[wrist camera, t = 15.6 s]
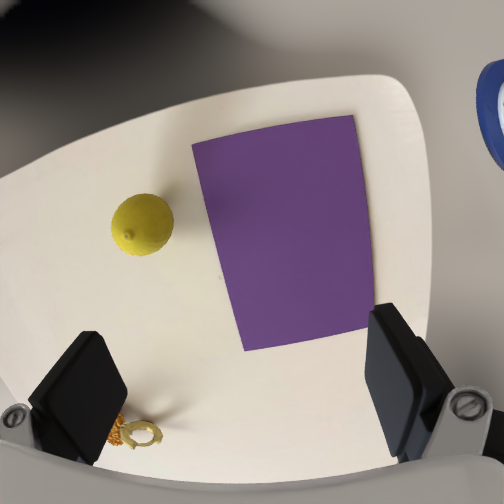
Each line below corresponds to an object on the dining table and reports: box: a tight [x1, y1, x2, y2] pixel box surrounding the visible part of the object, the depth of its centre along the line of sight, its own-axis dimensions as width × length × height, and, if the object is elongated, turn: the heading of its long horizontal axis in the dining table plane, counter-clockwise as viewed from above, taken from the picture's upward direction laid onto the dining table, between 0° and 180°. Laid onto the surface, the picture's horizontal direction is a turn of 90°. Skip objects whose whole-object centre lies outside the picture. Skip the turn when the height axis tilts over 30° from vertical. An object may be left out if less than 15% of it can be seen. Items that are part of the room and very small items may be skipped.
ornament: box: [107, 413, 163, 450], centre depth 39 cm, size 7×10×15 cm
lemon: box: [111, 193, 174, 256], centre depth 27 cm, size 6×6×8 cm
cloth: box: [192, 115, 374, 351], centre depth 31 cm, size 24×16×1 cm, turn 12°
